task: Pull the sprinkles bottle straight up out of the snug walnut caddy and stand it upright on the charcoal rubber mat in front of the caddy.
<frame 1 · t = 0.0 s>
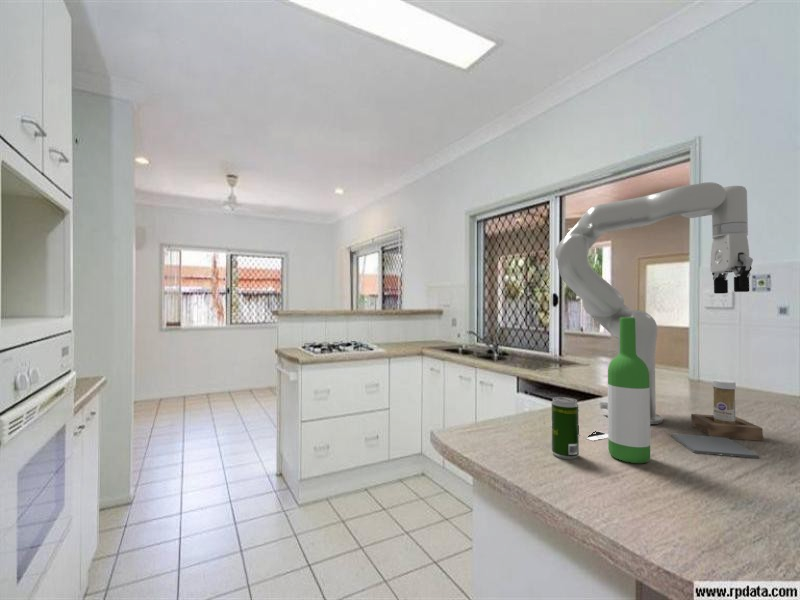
hand: (730, 292, 106), 37 cm above the table, tool pointing down, fingers open, 9 cm apart
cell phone: (576, 432, 100), on the table
wine bottle: (628, 458, 81), on the table
walnut caddy: (724, 432, 99), on the table
charcoal mat: (711, 446, 89), on the table
sprinkles bottle: (724, 433, 99), resting in walnut caddy
beer can: (565, 456, 83), on the table
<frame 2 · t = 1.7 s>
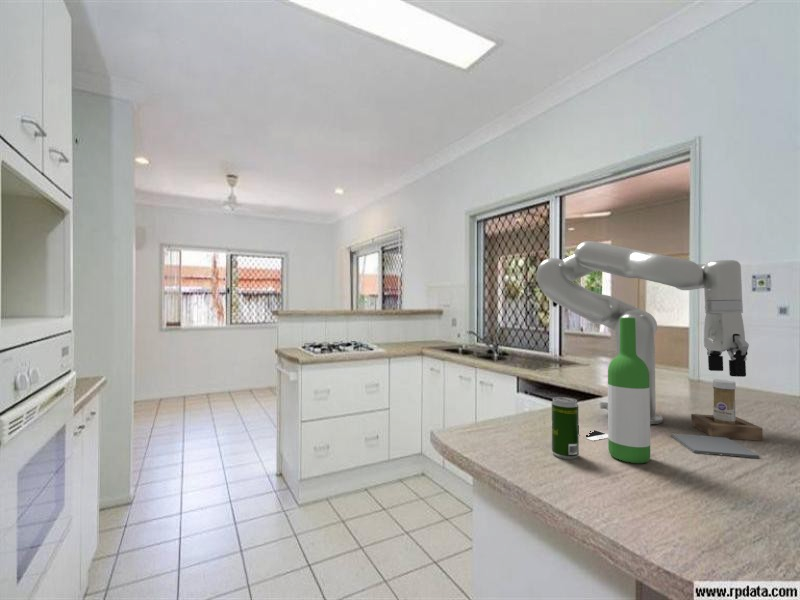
hand: (726, 373, 99), 15 cm above the table, tool pointing down, fingers open, 9 cm apart
nothing on the table moved.
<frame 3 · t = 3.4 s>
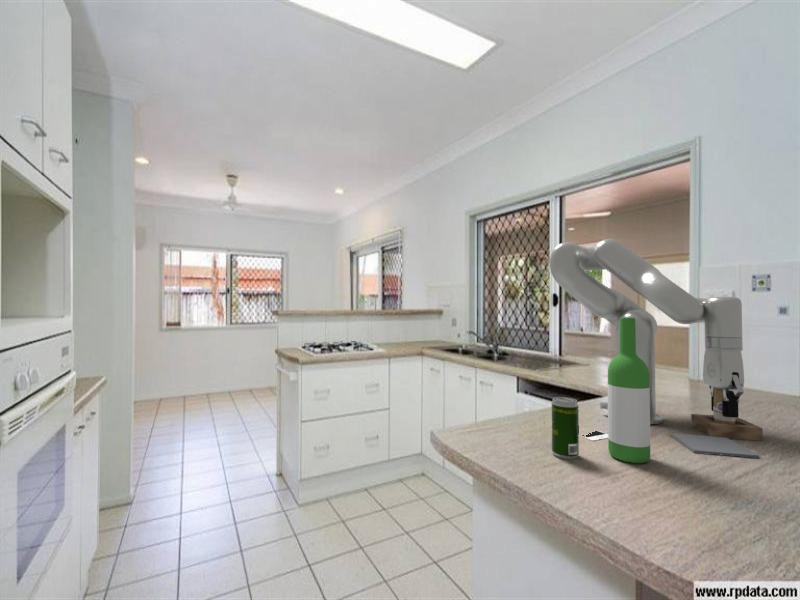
hand: (724, 413, 99), 5 cm above the table, tool pointing down, fingers closed on sprinkles bottle, 4 cm apart
sprinkles bottle: (724, 433, 99), resting in walnut caddy, touching gripper
everything else where it was.
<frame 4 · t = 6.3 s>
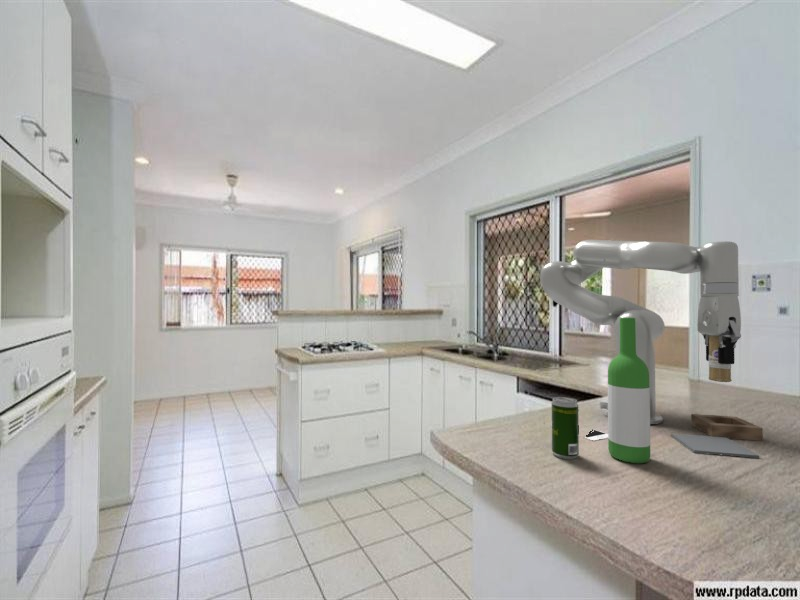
hand: (719, 361, 97), 19 cm above the table, tool pointing down, fingers closed on sprinkles bottle, 4 cm apart
sprinkles bottle: (720, 381, 97), point 14 cm above the table, touching gripper
everything else where it was.
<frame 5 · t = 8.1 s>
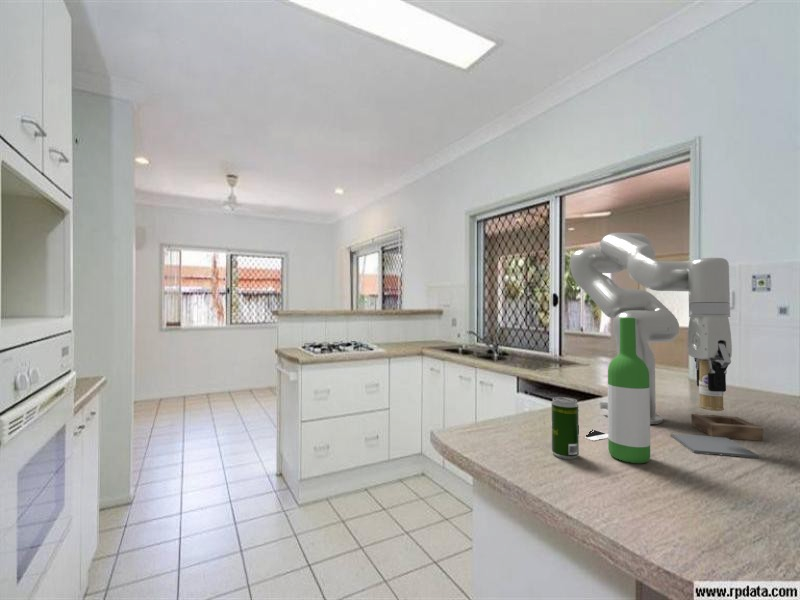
hand: (710, 388, 89), 13 cm above the table, tool pointing down, fingers closed on sprinkles bottle, 4 cm apart
sprinkles bottle: (711, 409, 89), point 8 cm above the table, touching gripper
everything else where it was.
when the fingers open (7 cm above the table, at t = 9.6 s): sprinkles bottle drops 1 cm, resting on charcoal mat.
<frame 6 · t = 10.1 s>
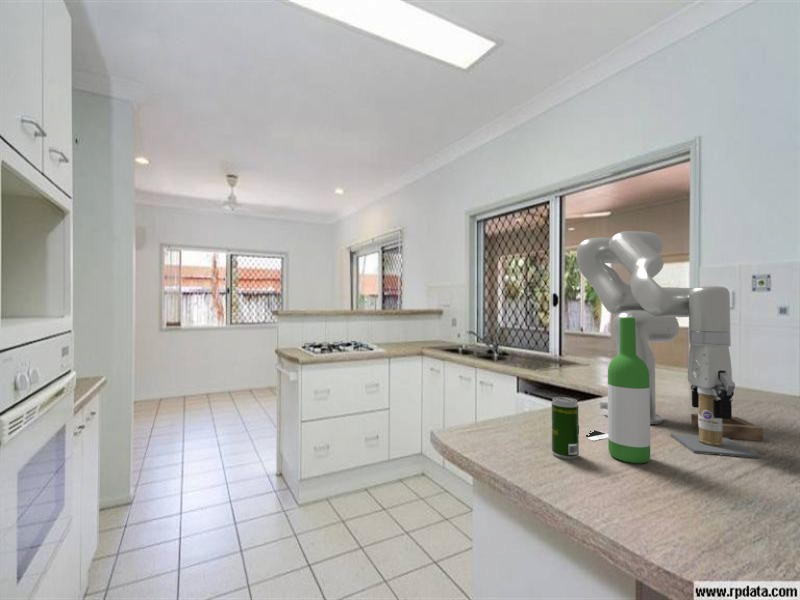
hand: (710, 412, 89), 8 cm above the table, tool pointing down, fingers open, 9 cm apart
sprinkles bottle: (710, 444, 89), resting on charcoal mat
everything else where it was.
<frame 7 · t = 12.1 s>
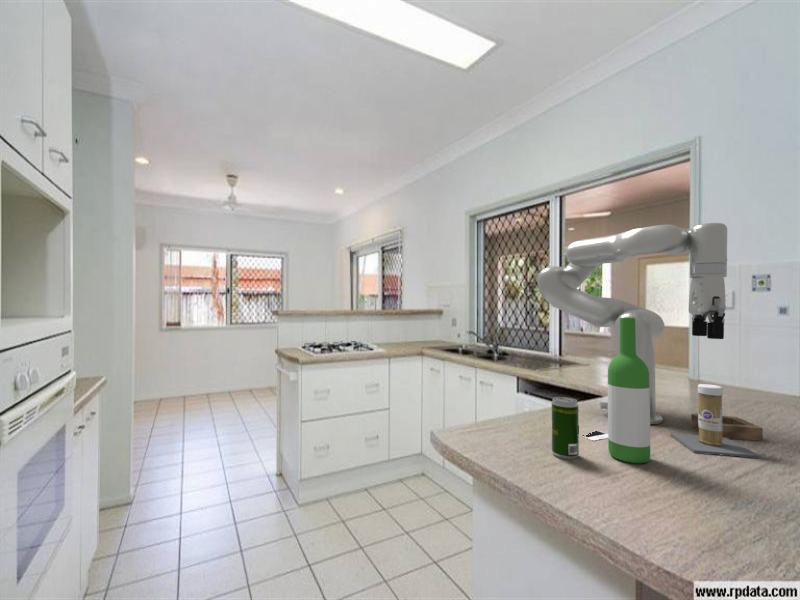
hand: (707, 337, 99), 25 cm above the table, tool pointing down, fingers open, 9 cm apart
nothing on the table moved.
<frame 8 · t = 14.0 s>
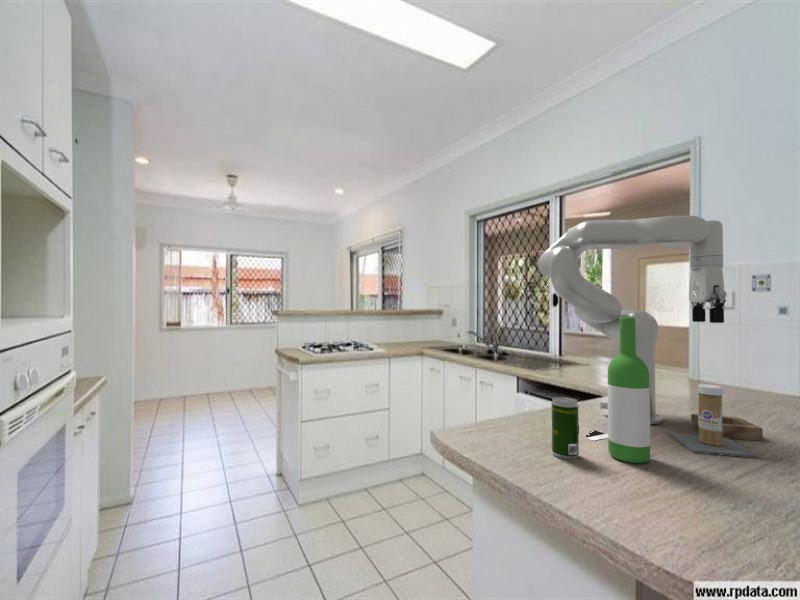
hand: (707, 322, 111), 28 cm above the table, tool pointing down, fingers open, 9 cm apart
nothing on the table moved.
at the end: sprinkles bottle inside the target area on the charcoal mat (0.2 cm from its centre), point 0.4 cm above the charcoal mat's base; sprinkles bottle tilted 0°; the gripper is holding nothing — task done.
